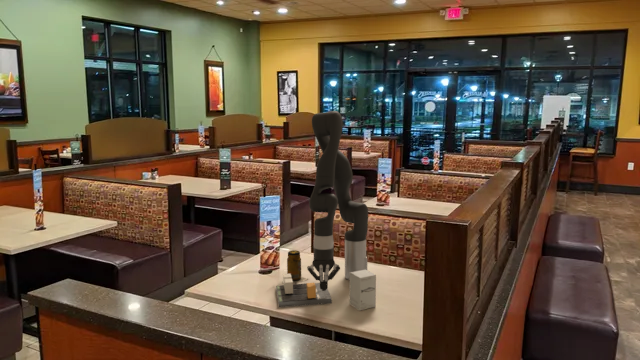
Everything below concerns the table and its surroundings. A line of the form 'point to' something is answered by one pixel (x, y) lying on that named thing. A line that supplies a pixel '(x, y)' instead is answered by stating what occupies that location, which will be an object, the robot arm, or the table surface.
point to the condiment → (294, 266)
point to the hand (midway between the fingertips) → (323, 290)
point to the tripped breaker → (311, 290)
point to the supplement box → (362, 289)
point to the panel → (302, 296)
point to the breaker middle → (288, 286)
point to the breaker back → (286, 277)
